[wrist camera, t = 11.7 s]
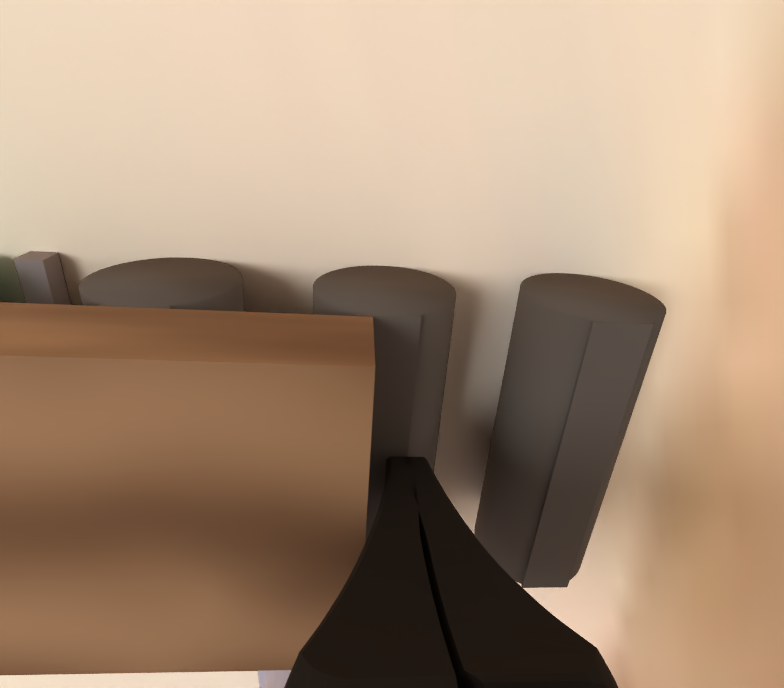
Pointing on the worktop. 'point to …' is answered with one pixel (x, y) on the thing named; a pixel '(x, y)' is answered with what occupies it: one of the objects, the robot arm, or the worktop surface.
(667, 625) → the worktop surface
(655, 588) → the worktop surface
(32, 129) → the worktop surface
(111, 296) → the roller bed
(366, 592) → the robot arm
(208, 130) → the worktop surface
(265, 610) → the slab
